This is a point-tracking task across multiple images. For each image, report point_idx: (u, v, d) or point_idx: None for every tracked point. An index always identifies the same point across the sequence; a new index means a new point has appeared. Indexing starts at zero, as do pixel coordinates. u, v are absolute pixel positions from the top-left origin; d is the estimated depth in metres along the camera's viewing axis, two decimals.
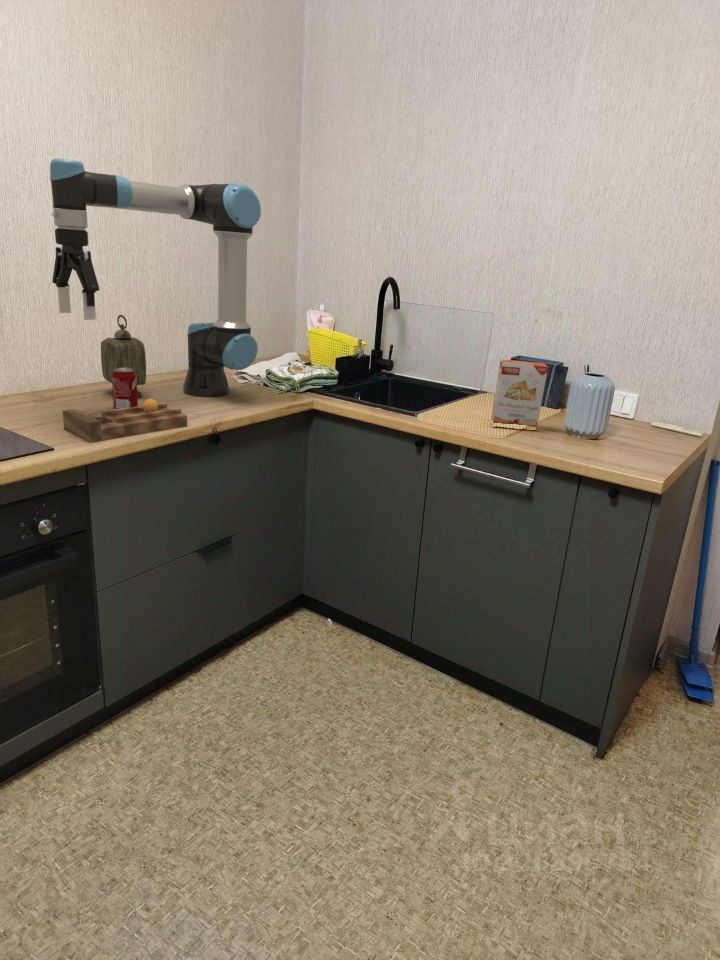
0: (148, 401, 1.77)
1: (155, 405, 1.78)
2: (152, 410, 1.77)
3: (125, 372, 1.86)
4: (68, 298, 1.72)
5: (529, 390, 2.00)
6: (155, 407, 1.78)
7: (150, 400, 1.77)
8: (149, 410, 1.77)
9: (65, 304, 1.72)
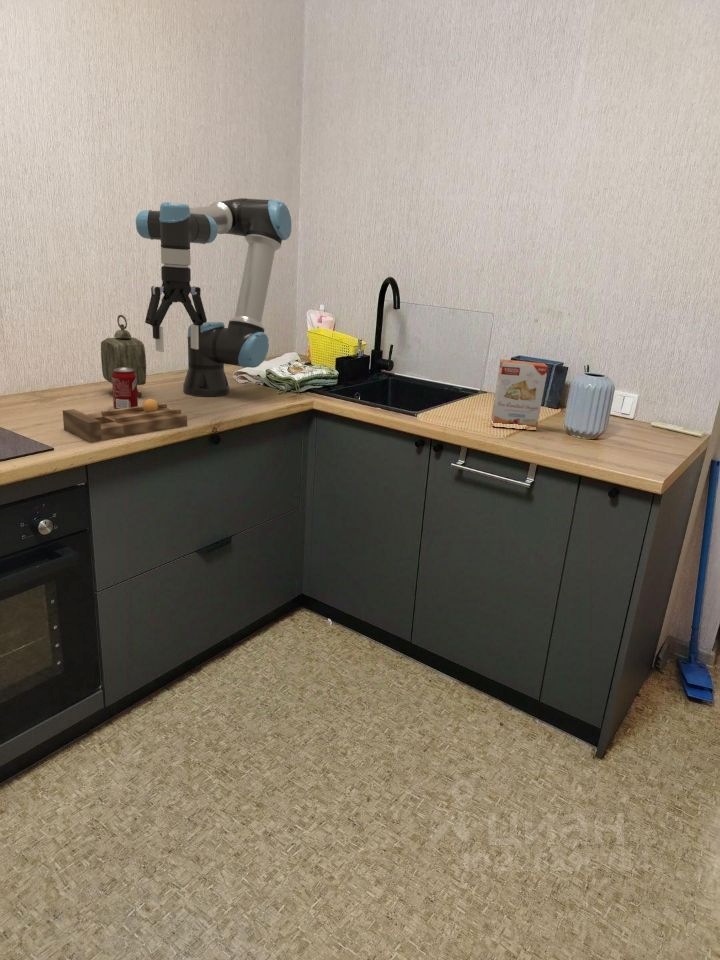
0: (148, 401, 1.77)
1: (155, 405, 1.78)
2: (152, 410, 1.77)
3: (125, 372, 1.86)
4: (195, 335, 1.82)
5: (529, 390, 2.00)
6: (155, 407, 1.78)
7: (150, 400, 1.77)
8: (149, 410, 1.77)
9: (193, 340, 1.83)
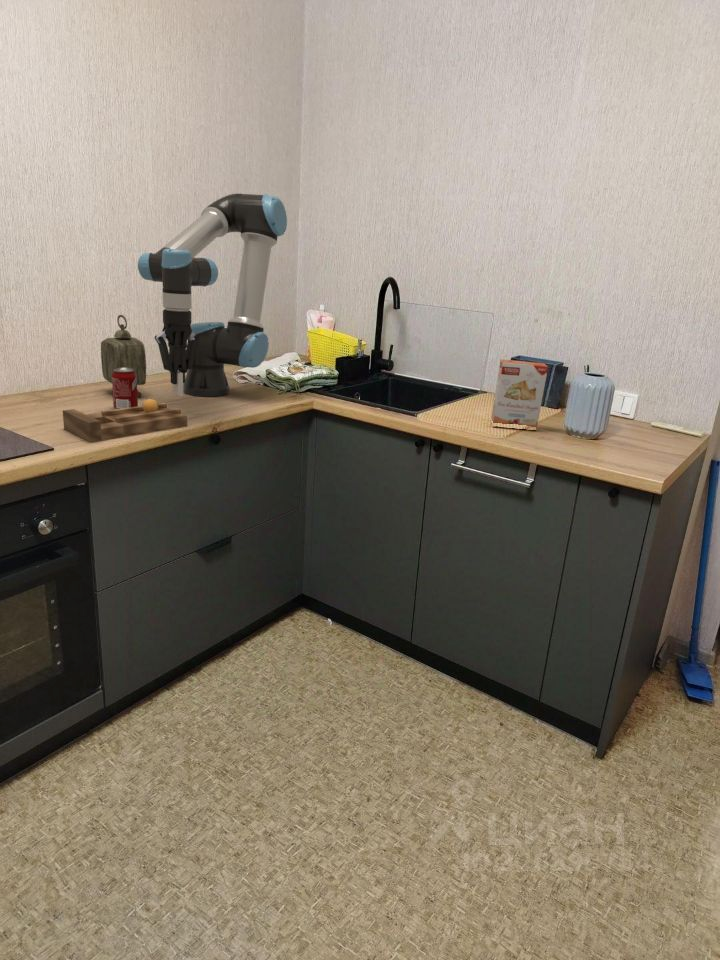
0: (148, 401, 1.77)
1: (155, 405, 1.78)
2: (152, 410, 1.77)
3: (125, 372, 1.86)
4: (179, 382, 1.82)
5: (529, 390, 2.00)
6: (155, 407, 1.78)
7: (150, 400, 1.77)
8: (149, 410, 1.77)
9: None
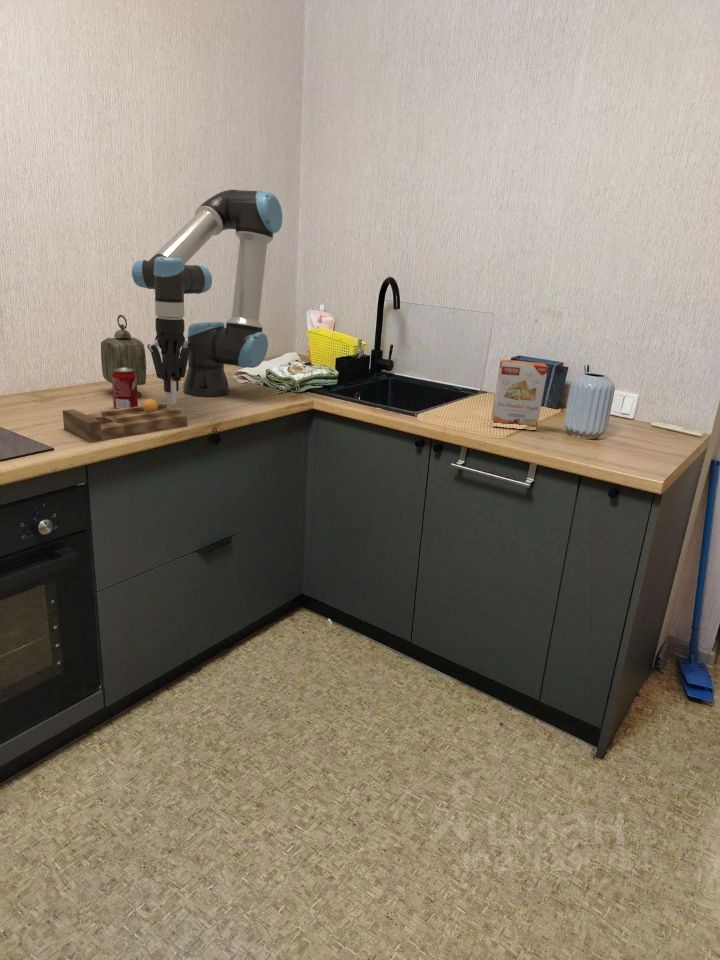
0: (148, 401, 1.77)
1: (155, 405, 1.78)
2: (152, 410, 1.77)
3: (125, 372, 1.86)
4: None
5: (529, 390, 2.00)
6: (155, 407, 1.78)
7: (150, 400, 1.77)
8: (149, 410, 1.77)
9: None
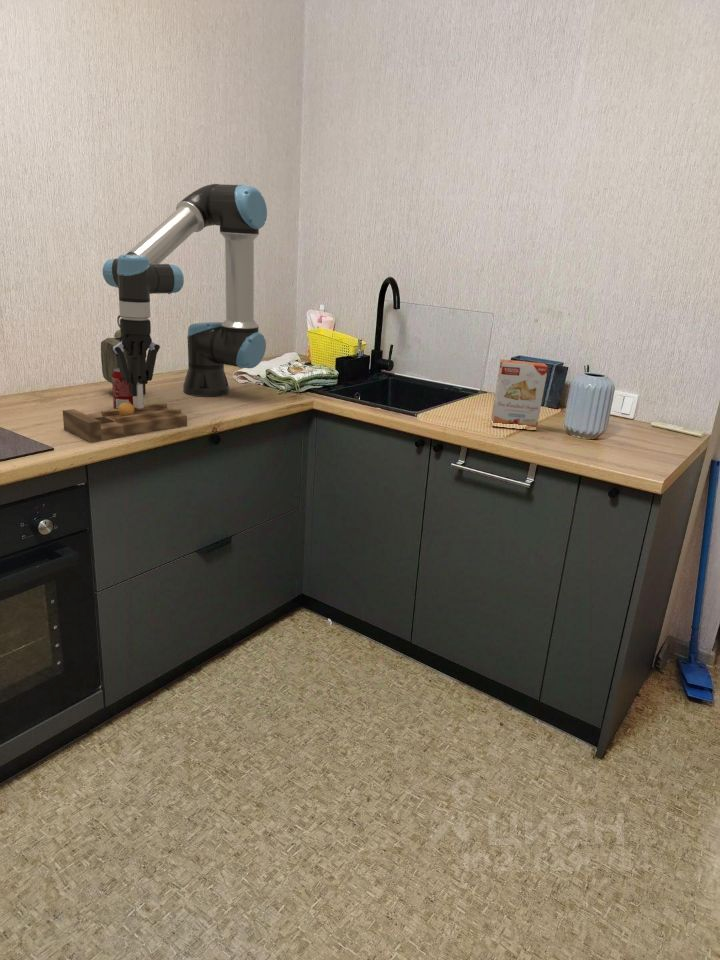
0: None
1: (129, 413, 1.72)
2: (130, 407, 1.72)
3: None
4: (139, 394, 1.74)
5: (529, 391, 2.00)
6: (129, 411, 1.72)
7: None
8: (131, 406, 1.73)
9: None
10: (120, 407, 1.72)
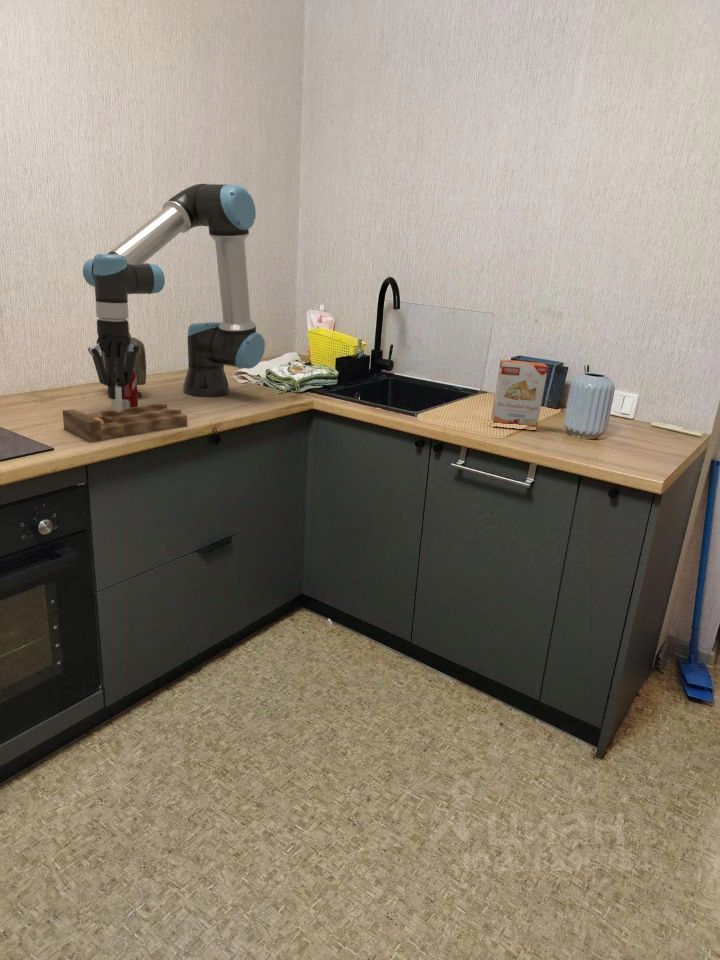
0: None
1: None
2: None
3: None
4: (118, 397, 1.70)
5: (529, 390, 2.00)
6: None
7: None
8: None
9: None
10: (99, 418, 1.68)
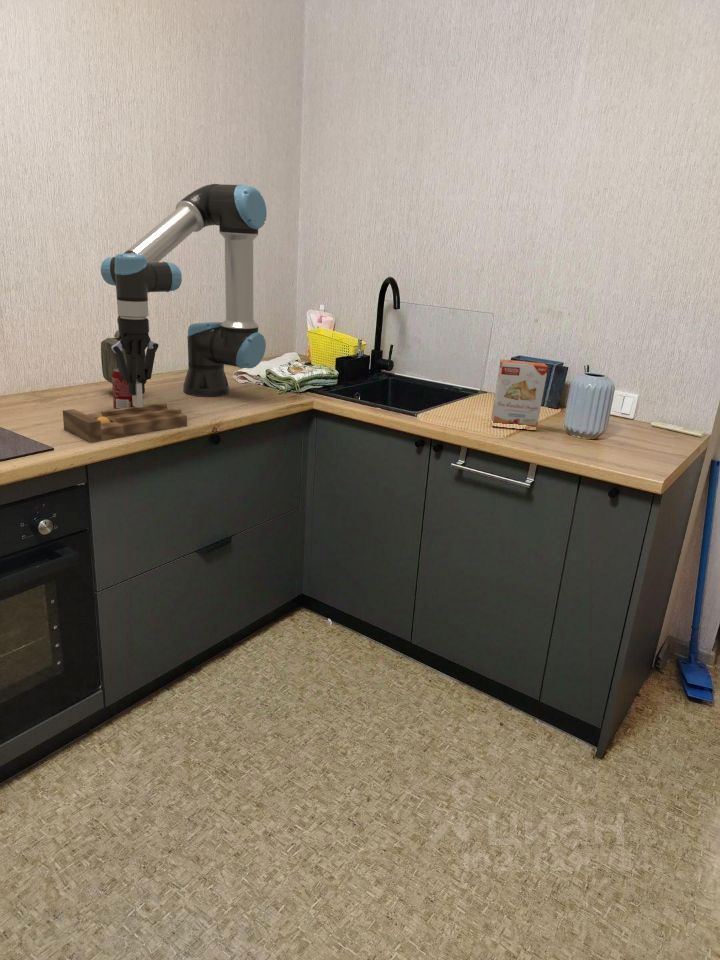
0: None
1: None
2: None
3: None
4: (139, 393, 1.74)
5: (529, 390, 2.00)
6: None
7: None
8: None
9: None
10: None
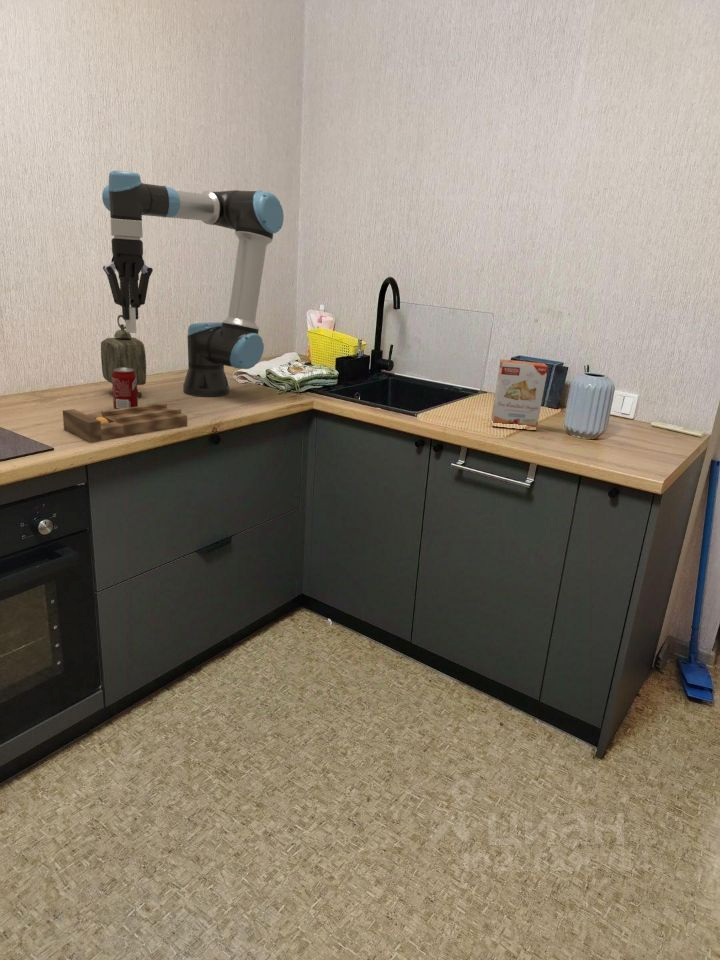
0: None
1: None
2: None
3: (125, 372, 1.86)
4: None
5: (529, 390, 2.00)
6: None
7: None
8: None
9: None
10: None
